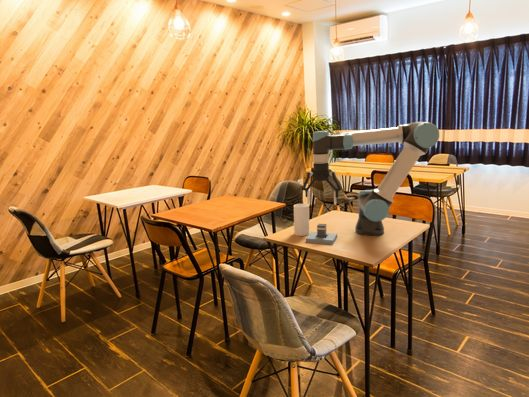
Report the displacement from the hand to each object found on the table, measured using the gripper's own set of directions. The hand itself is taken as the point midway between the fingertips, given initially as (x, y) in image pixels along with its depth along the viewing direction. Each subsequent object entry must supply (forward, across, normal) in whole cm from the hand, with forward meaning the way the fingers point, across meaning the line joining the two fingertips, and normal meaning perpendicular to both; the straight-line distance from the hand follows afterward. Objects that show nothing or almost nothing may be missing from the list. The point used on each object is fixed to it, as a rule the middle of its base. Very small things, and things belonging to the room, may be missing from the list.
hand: (321, 203), depth 200 cm
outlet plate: (+19, 0, 0) cm, 19 cm away
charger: (+19, 0, 0) cm, 19 cm away
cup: (+19, +14, -8) cm, 25 cm away
